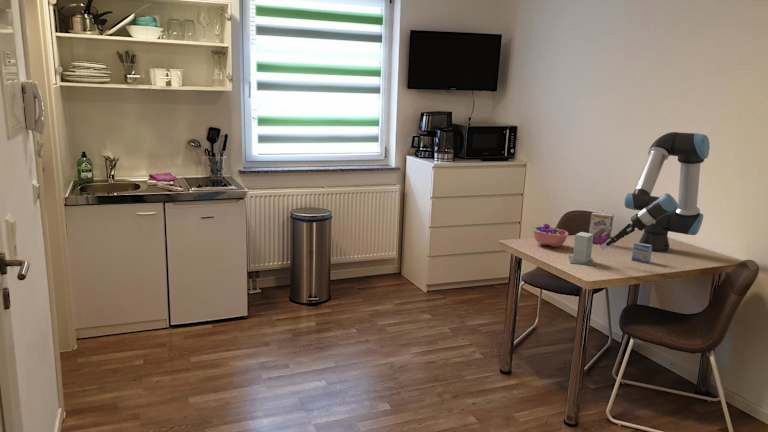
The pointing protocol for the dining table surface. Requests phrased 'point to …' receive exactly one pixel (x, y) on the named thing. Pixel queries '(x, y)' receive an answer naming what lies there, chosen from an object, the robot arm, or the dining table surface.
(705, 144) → the robot arm
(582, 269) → the dining table surface
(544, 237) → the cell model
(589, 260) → the slate coaster
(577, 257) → the small box
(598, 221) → the candy bar box
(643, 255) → the medicine box
